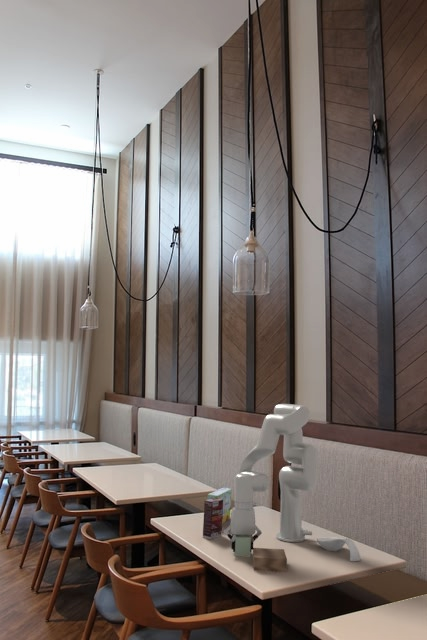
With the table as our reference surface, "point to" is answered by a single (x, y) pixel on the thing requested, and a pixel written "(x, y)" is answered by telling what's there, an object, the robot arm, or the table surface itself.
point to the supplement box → (213, 518)
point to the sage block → (242, 545)
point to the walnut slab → (269, 560)
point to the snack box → (226, 496)
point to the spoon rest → (339, 546)
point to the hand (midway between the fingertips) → (242, 550)
